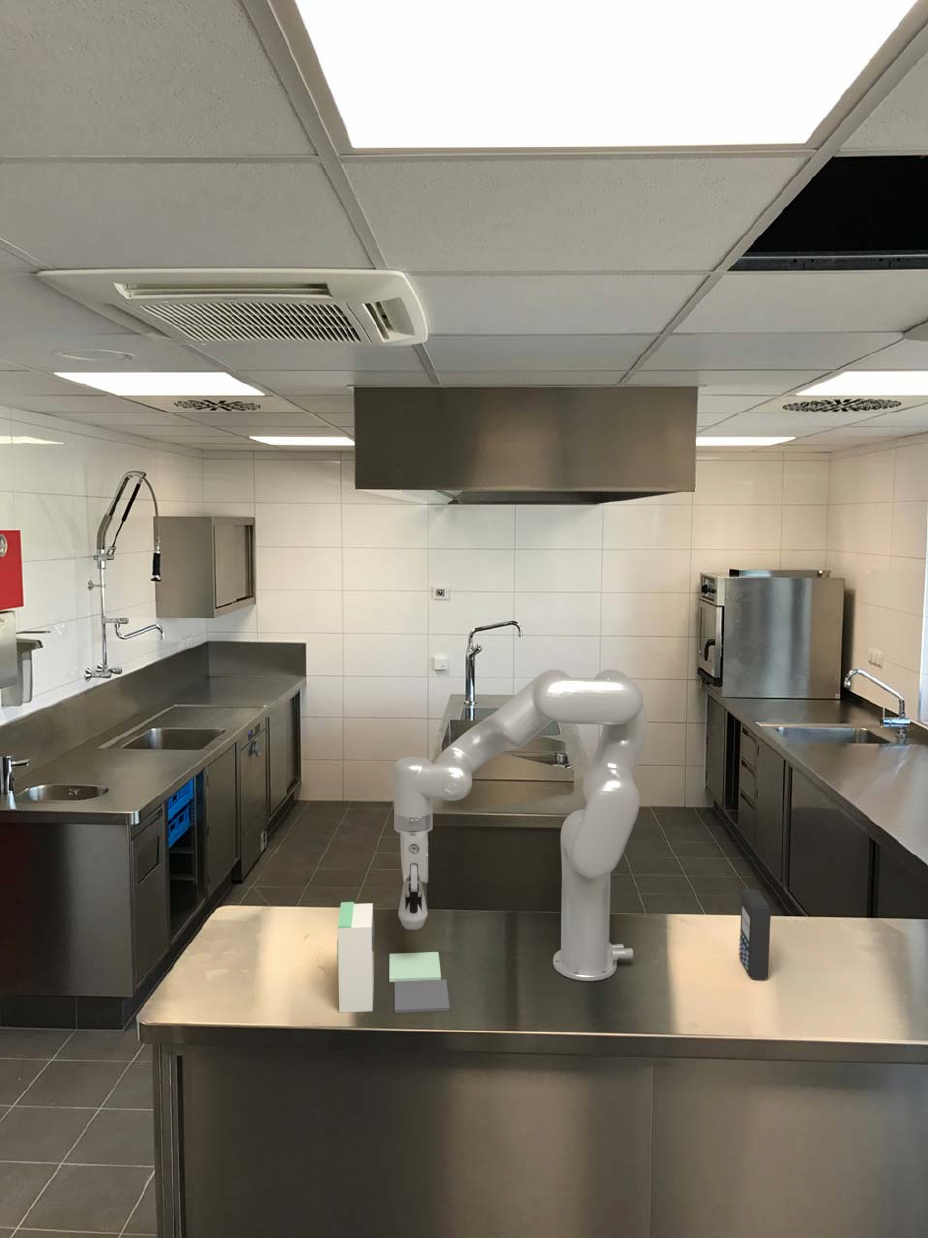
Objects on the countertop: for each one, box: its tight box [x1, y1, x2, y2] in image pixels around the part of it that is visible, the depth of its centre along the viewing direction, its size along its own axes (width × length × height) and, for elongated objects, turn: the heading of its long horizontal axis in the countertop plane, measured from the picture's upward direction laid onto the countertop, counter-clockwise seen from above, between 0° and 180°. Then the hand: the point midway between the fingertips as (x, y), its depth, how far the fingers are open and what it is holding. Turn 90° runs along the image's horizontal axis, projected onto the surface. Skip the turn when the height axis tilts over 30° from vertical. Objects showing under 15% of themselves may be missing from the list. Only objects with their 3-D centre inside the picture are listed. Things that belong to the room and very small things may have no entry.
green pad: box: [388, 951, 442, 983], centre depth 176 cm, size 10×10×1 cm
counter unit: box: [336, 901, 375, 1014], centre depth 164 cm, size 7×10×16 cm, turn 5°
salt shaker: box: [397, 864, 429, 931], centre depth 174 cm, size 6×6×13 cm
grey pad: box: [394, 978, 450, 1014], centre depth 165 cm, size 10×10×1 cm
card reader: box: [738, 888, 772, 981], centre depth 174 cm, size 9×4×15 cm, turn 177°
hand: (413, 909), depth 174 cm, fingers closed on salt shaker, 3 cm apart
